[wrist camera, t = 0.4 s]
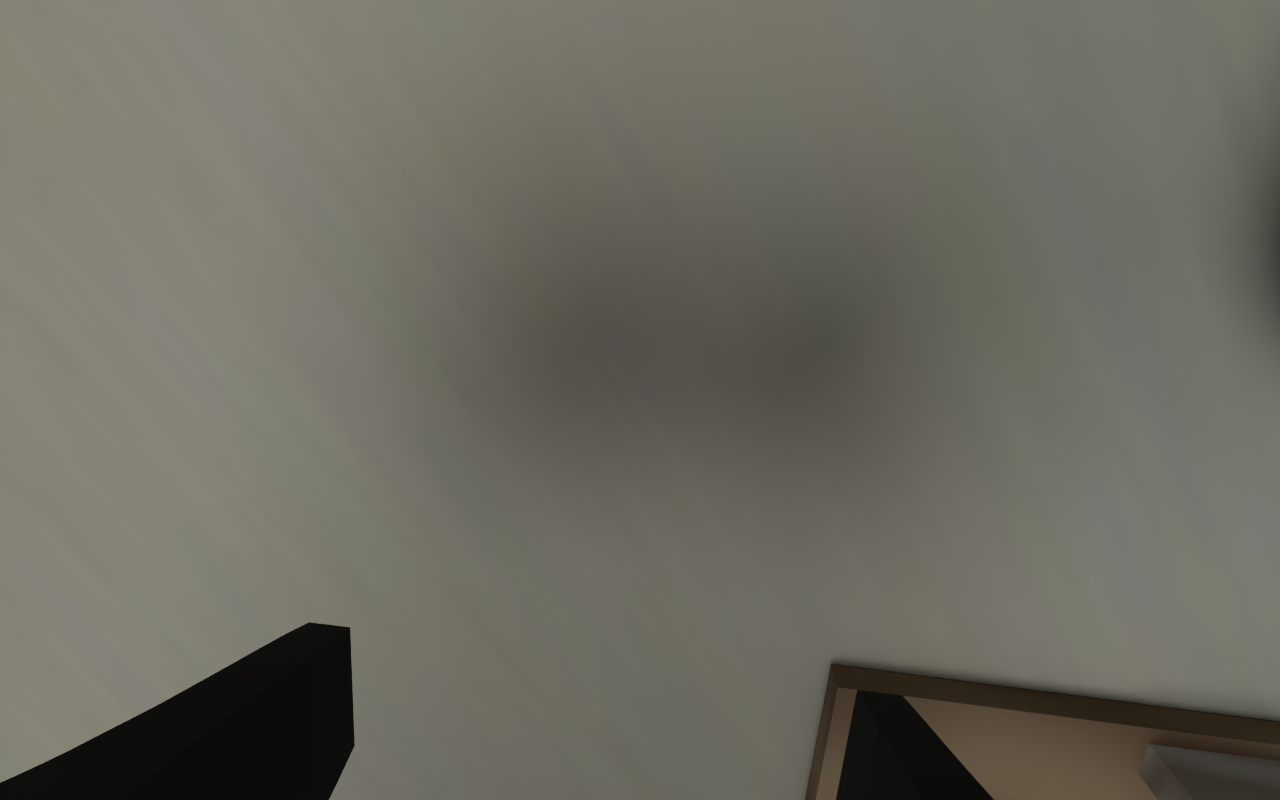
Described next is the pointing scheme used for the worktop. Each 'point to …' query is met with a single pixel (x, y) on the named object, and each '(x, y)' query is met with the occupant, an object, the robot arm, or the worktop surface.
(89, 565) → the worktop surface
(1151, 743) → the cleat board
